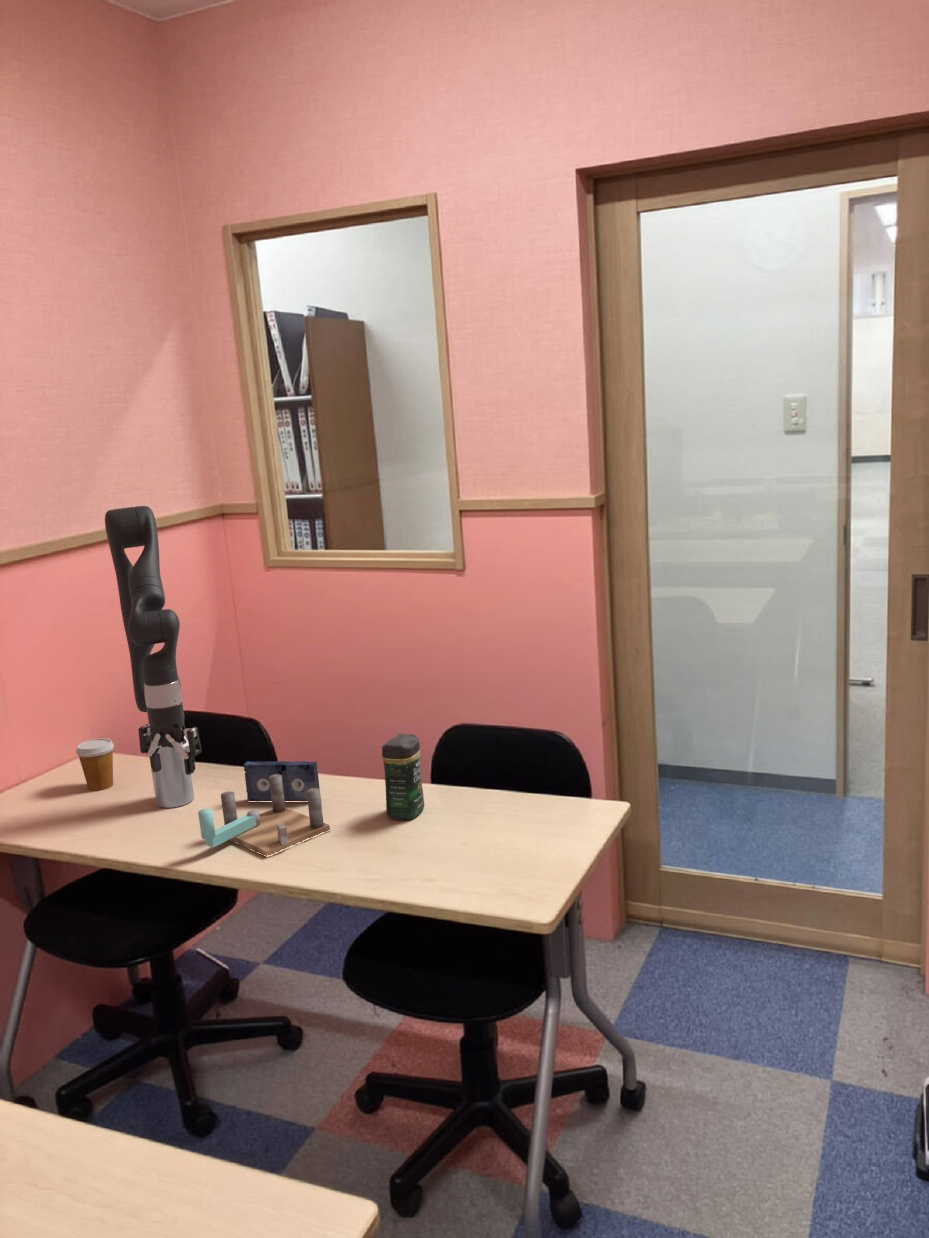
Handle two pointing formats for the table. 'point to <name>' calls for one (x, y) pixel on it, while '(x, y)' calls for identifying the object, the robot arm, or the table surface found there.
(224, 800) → the stool seat
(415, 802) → the coffee jar
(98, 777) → the disposable coffee cup
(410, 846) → the table surface
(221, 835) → the hinged leg
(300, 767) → the vhs cassette tape
